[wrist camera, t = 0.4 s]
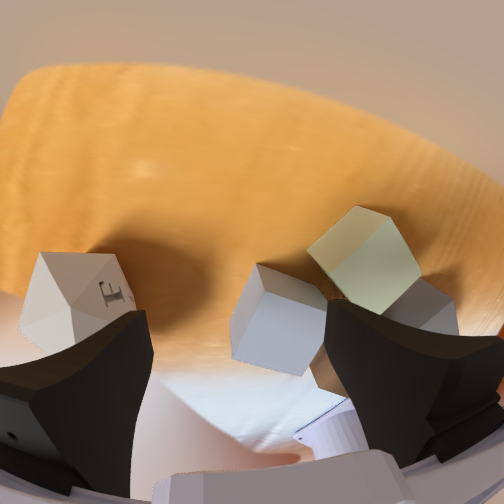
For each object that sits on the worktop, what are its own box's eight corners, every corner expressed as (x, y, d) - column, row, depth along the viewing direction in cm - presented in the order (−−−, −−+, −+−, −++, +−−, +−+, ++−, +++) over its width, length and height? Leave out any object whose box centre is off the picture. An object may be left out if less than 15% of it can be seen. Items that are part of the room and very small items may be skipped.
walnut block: (376, 326, 24) (404, 357, 19) (342, 367, 25) (362, 402, 20) (338, 303, 23) (364, 335, 18) (301, 349, 23) (318, 387, 19)
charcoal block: (429, 314, 24) (459, 339, 20) (391, 344, 25) (417, 374, 20) (419, 276, 23) (453, 299, 18) (376, 308, 23) (405, 338, 18)
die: (148, 343, 23) (172, 355, 14) (60, 375, 18) (33, 405, 10) (116, 252, 23) (122, 212, 15) (28, 281, 19) (-14, 255, 10)
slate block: (315, 284, 22) (338, 315, 17) (286, 337, 23) (301, 376, 18) (255, 262, 21) (265, 290, 16) (229, 320, 22) (232, 359, 17)
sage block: (387, 252, 22) (422, 273, 17) (342, 293, 22) (369, 324, 18) (355, 204, 20) (390, 216, 16) (305, 249, 21) (329, 274, 16)
